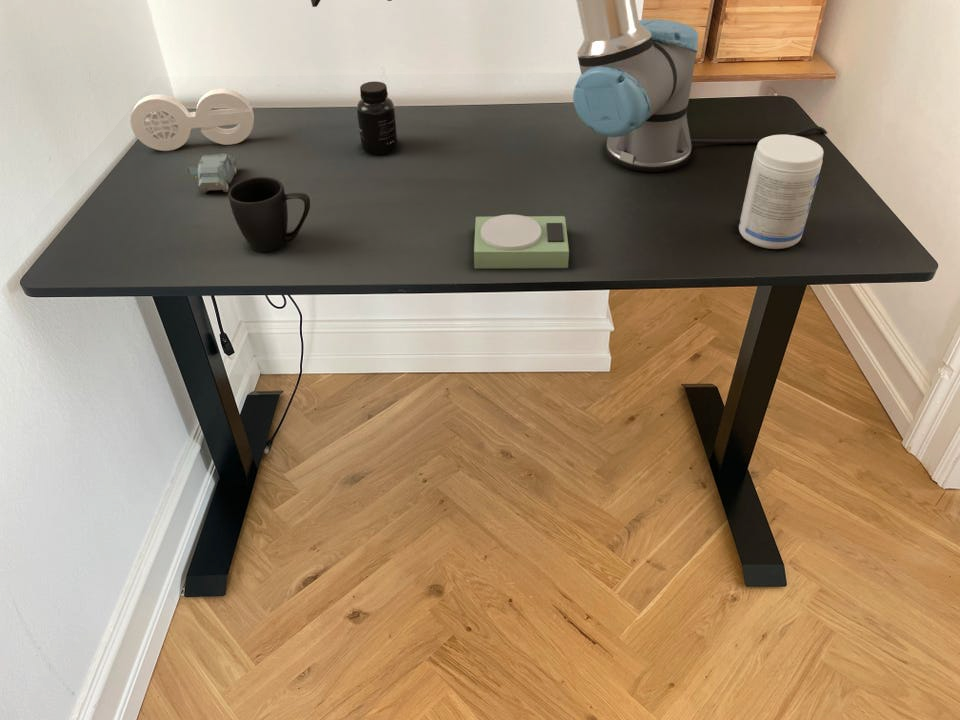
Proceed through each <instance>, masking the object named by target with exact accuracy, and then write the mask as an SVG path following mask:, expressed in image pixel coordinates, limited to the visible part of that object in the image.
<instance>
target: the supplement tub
mask: <svg viewBox="0 0 960 720" xmlns="http://www.w3.org/2000/svg"><path fill="white" fill-rule="evenodd" d="M762 138H763V139H761V138H760V139H761V140H760V141H759V142H758V143H756V144H757V145H756V148H755V151H754V154H753V159H752V163H751V167H750V170H749V171H750V172H749V176H748V181H747V186H746V190H745V195H744V199H743V200H744V201H743V204H742V209H741V214H740V219H739V224H738V230H739V233H740V235H741V236H742V238H743V239H744V240H745V241H747V242H749V243H751V244H753V245H754V246H757V247H760V248H764V249H769V250H771V249H772V250H781V249H788V248H791V247H793V246H795V245H796V244H798V243H799V242H800V241H801V239H802V237H803V234H804V231H805V227H806V223H807V220H808V216H809V213H810V209H811V206H812V202H813V199H814V195H815V191H816V188H817V184H818V180H819V177H820V174H821V169H822V165H823V158H824V148H823V147H822V146H821V145H820V144H819V143H817V142H816V141H815V140H812V139H809V138H807V137H804V136H799V135H796V136H795V135H781V134H772V135H769V136H766V137H762Z"/></svg>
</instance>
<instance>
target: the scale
mask: <svg viewBox="0 0 960 720" xmlns="http://www.w3.org/2000/svg"><path fill="white" fill-rule="evenodd" d="M474 222H475V225H474V243H473V261H474V263H473V264H474V269H476V270H477V269H568V268H569V258H570V248H569V240H568V229H567V221H566V216H565V215H556V216H555V215H554V216H553V215H542V216H541V215H540V216H538V215H536V216H535V215H533V216H532V215H531V216H529V215H528V216H526V215H523V214H522V215H521V214H510V213H509V214H501V215H496V216H475V221H474Z"/></svg>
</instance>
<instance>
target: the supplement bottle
mask: <svg viewBox="0 0 960 720" xmlns="http://www.w3.org/2000/svg"><path fill="white" fill-rule="evenodd" d="M359 91H360V95H359V96H360V99H359V101H358V103H357V105H356V112H357V121H358V129H359V138H360V146H361V148H362V151H363V153H366V154H367V155H370V156H379V157H380V156H386V155H389V154H392V153H393V152H395V151H396V149H397V148H398V134H397V133H398V132H397V123H396V111H395V103H394V102H393V100H392V99H391V98H390V97H389V93H388V87H387V84H386V83H385V82H381V81H377V80H376V81H368V82H364V83H362V84H361V85H360V87H359Z"/></svg>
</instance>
